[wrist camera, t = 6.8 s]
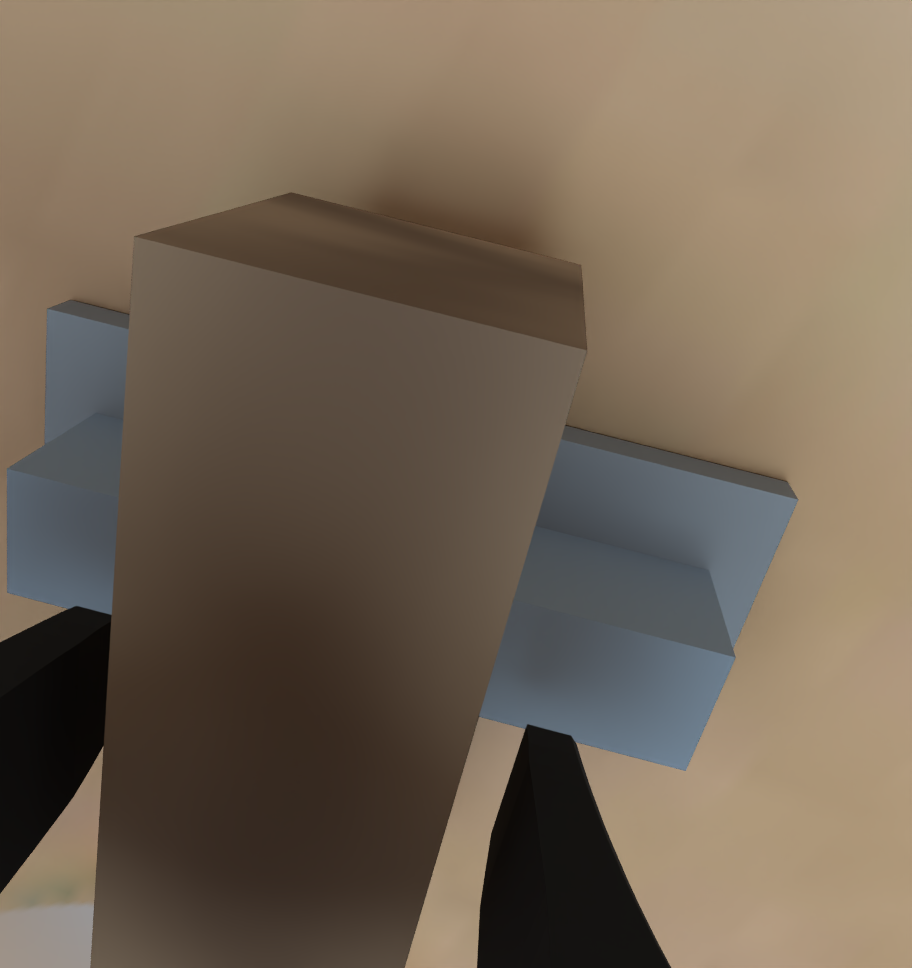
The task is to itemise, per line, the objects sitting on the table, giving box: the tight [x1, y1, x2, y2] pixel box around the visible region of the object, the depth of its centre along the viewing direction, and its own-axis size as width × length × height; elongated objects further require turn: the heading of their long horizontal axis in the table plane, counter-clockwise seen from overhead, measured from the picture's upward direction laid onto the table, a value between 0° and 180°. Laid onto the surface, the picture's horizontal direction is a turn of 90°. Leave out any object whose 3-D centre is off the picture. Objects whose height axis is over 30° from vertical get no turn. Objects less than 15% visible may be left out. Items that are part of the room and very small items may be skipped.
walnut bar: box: [90, 193, 587, 968], centre depth 12 cm, size 4×14×4 cm, turn 167°
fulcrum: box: [7, 300, 798, 771], centre depth 16 cm, size 14×6×4 cm, turn 77°
